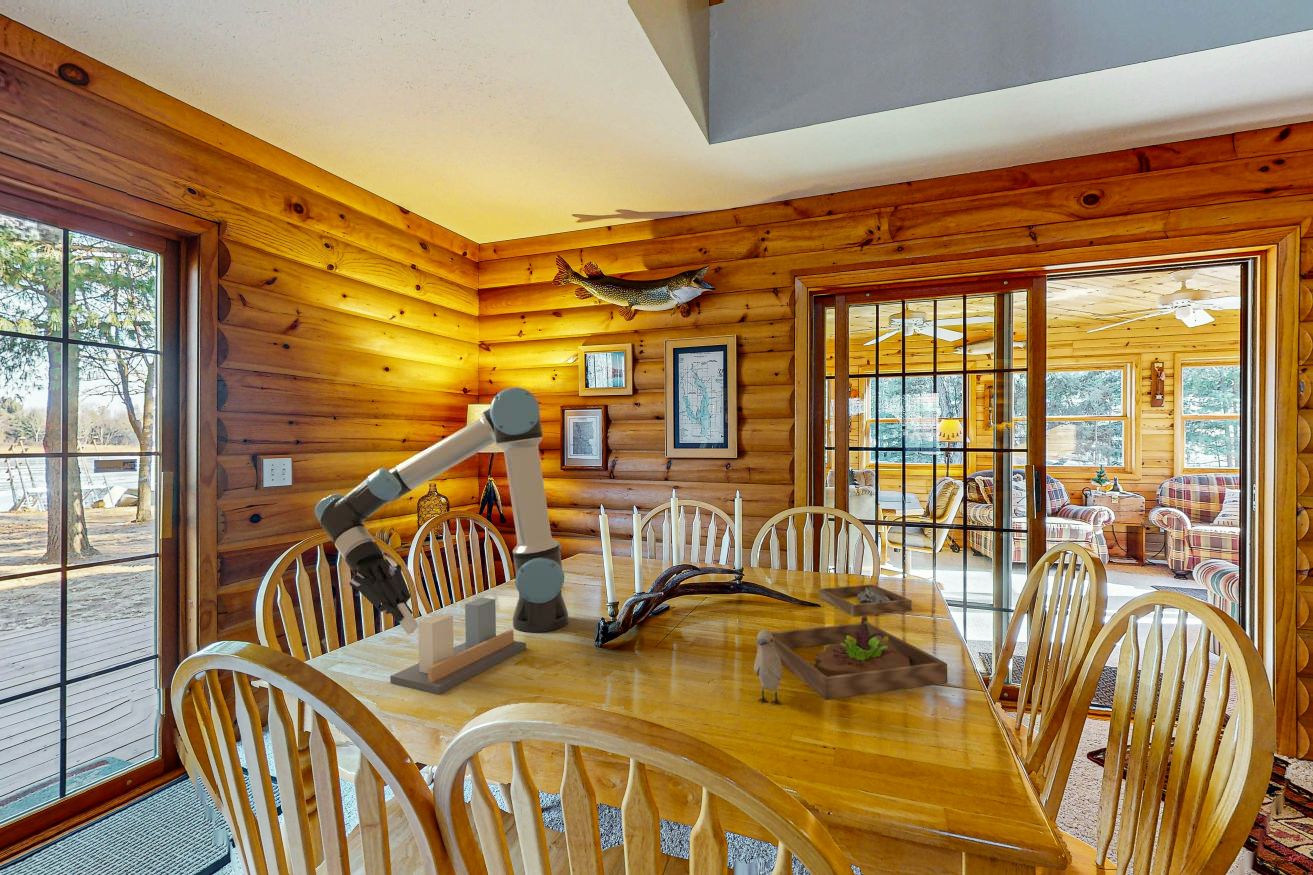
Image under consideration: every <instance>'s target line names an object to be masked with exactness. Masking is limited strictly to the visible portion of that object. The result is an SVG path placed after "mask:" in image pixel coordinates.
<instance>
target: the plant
mask: <svg viewBox="0 0 1313 875" xmlns="http://www.w3.org/2000/svg"><path fill="white" fill-rule="evenodd" d="M867 622H868V623H869V618H868V616H867V615H862V616H861V621H860V623H861V625H860V627H861V628H860V633H859V631H854V632H853V633H852V634H851V635H850V636H849V635H847V636H846V638H847V640H846V639H845V641H846V642H840V643H833V644H828V646H827V647H826V648H825V649H824V651H822V652H818V653H816V656H815V657H814V658H815V660H814V661H815V666H814V667H815V668H817V669H818V670H819V671H820V672H822V673H823V674H824V675H826V676H827V677H828V676H836V675H844V674H852V673H859V672H867V671H875V670H883V669H891V668H898V667H906V666H912V665H911V664H910V658H909V656H908V655H905V654H903V653H901V652H899V651H897V650H894V649H890V648H887V647H888V646H882V647H879V646H877V645H878V644H879V640H877V638H876V637H874V636H877V635H880V636H881V637H882V640H883V641H884V642H888V637H887V635H885V634H884V633H877V632H876V633H873V634H871V635H870V636H868V637H866V634H865V630H864V629H865V627H864V625H865V624H864V623H867ZM855 634H856V635H857V639H855V637H854V636H855Z"/></svg>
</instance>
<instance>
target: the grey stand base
mask: <svg viewBox="0 0 1313 875" xmlns="http://www.w3.org/2000/svg"><path fill="white" fill-rule="evenodd" d="M514 639H515V638H514V629H508V630H506V631H504V632H502V633H500V634H496V636H495V637H493V638H491V639H489V640H487V641H484V642H482V643H480V644H478V645H476V646H474V647H471V648H469V649H467V650H466V641H465V642H463V643H461V644H459V645H456V646H455V647H454V646H453V649H454V656H452V657H450V658H448V659H446V660H443V661H441V662H439V663H437V664H435V665H433V666H430V667H428V673H423V672H419V662H418V663H417V664H416V663H415V664H414V665H411V666H409V667H407V668H405V669H402V670H400V671H399V672H396V673H394V674H391V675H390V677H389V678H390V684H394V685H397V686H402V687H405V688H410V689H415V690H419V691H423V692H426V693H427V692H428V693H431V694H435V695H441V694H443V693H445V692H447V691H448V690H450V689H452V688H454V687H456V686H458V685H460V684H462V683H464V682H465V680H466V681H468V680H469V679H471V678H473V677H475V676H477V675H479V674H480V672H481V673H483V672H484V670H485V671H487V670H488V669H491V668H492V667H494V666H496V665H498V664H500V663H502V662H504V661H505V660H507V659H509V658H511V657H513V656H515V655H517V654H519V653H521V652H523V651H524V650H526V649H527V642H525V641H520V640H514ZM486 669H487V670H486ZM482 671H483V672H482ZM478 673H479V674H478ZM476 674H477V675H476ZM474 675H475V676H474ZM472 676H473V677H472ZM467 679H468V680H467ZM463 681H464V682H463ZM461 682H462V683H461ZM459 683H460V684H459Z"/></svg>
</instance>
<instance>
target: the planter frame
mask: <svg viewBox="0 0 1313 875" xmlns="http://www.w3.org/2000/svg"><path fill="white" fill-rule="evenodd" d="M864 624H865V625H864V627H865V629H864V630H865V634H866V637H868V636H870V635H871V634H873V633H876V632H877V633H884V634H885V635H887V637H888V642H884V641H883V640H882V637H881V636H880V635H877V636H874V637H876V638H877V640H879V644H878V645H877V646H879V647H882V646H888V647H887V648H890V649H894V650H897V651H899V652H901V653H903V654H905V655H908V656H909V658H910V664H911V666H906V667H898V668H891V669H883V670H875V671H867V672H859V673H852V674H844V675H836V676H828V677H827V676H826V675H824V674H823V673H822V672H820V671H819V670H818V668H817V667H816V666H814V665H812V664H811V663H809V662H808V661H807V660H806V659H804V658H803V657H802V656H801V655H799V654H798V653H797V652H795V651H794V650H792V649H795V648H796V649H797V648H798V649H799V648H806V647H814V646H822V645H823V646H824V645H832V644H836V643H840V642H846V641H845V639H846V640H847V638H846V636H847V635H849V636H850V635H851V634H852V633H853V632H854V631H859V633H860V628H861V627H860V625H861V622H859V623H857V622H856V623H849V624H848V623H847V624H839V625H837V624H836V625H828V626H819V627H811V628H810V627H809V628H808V627H807V628H799V629H789V630H781V631H772V632H771V631H769V632H770V633H771V634H772V636H773V642H774V647H775V649H776V651H777V653H778V655H779V658H780V660H781V665H782V666H784V667H786V668H787V669H788V670H789V671H790V672H791V673H793V675H795V676H797V678H798V679H800V680H801V681H803V683H805V684H806V685H807V686H808V687H810V689H811V690H813V691H815V692H816V693H817V694H818V695H819V696H820V697H821V698H822V699H824V700H827V701H828V700H835V699H839V698H840V699H841V698H848V697H853V696H854V697H855V696H861V695H863V696H864V695H869V694H877V693H884V692H891V691H897V690H904V689H910V688H911V689H912V688H922V687H926V686H933V685H941V684H947V683H948V662H945V661H943V660H942V659H940V658H938V657H935V656H933V655H932V654H930V653H928V652H926V651H924V650H922V649H920V648H918V647H916V646H914V645H912V644H910V643H909V642H906V641H905V640H902V639H901V638H900V637H897V636H895V635H894V634H892V633H889V632H887V631H885V630H883V629H881V628H880V627H877V626H876V625H874V624H871V623H870V622H869V621H868V622H867V623H864ZM854 637H855V639H857V635H856V634H855V636H854Z"/></svg>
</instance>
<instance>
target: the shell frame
mask: <svg viewBox="0 0 1313 875" xmlns="http://www.w3.org/2000/svg"><path fill="white" fill-rule="evenodd" d="M870 586H871V587H874V588H875V589H877V590H878V591H880V592H881V593H882V594H884V595H885V596H886V597H888V598H889V599H890V600H891V601H886V602H875V603H865V604H864V603H858V604H857V603H852V602H850V601H849V600H847V599H844V598H850V597H858V594H859V593H860V592H863V591H865V588H866V587H868V588H870ZM818 599H819V600H821V601H822V602H825V603H826V604H829V605H831V606H832V607H834V608H836V609H839V610H840V611H842V612H844V613H846V614H848V615H850V616H852V617H859V616H860V617H863V616H871V615H872V616H873V615H879V614H889V613H898V612H911V611H912V599H909V598H907V597H905V596H902V595H899V594H898V593H894V591H893V592H892V591H890V590H888V589H885V588H883V587H880V586H877V585H875V584H873V583H871V584H860V585H848V586H837V587H826V588H818Z"/></svg>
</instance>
